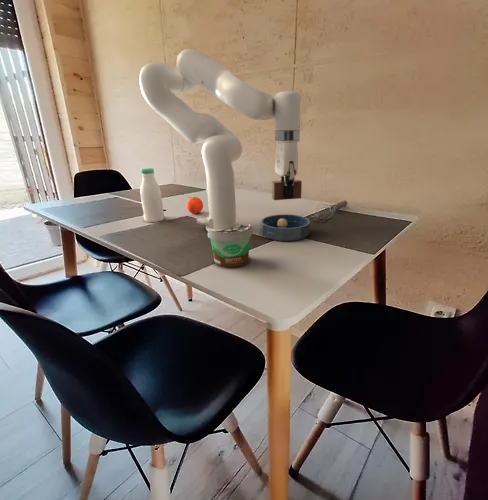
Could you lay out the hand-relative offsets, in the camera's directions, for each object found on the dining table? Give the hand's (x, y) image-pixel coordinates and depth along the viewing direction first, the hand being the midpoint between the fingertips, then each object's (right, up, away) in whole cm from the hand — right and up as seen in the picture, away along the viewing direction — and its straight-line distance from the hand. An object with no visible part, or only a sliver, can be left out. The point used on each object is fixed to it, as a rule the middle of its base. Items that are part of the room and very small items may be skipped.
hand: (286, 196), depth 101 cm
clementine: (-36, -2, +32) cm, 48 cm away
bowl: (0, -12, +5) cm, 13 cm away
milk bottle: (-51, -5, +24) cm, 56 cm away
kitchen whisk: (+21, -3, +26) cm, 34 cm away
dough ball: (-1, -8, +7) cm, 11 cm away
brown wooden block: (0, -1, 0) cm, 1 cm away
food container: (-16, -21, -17) cm, 32 cm away
